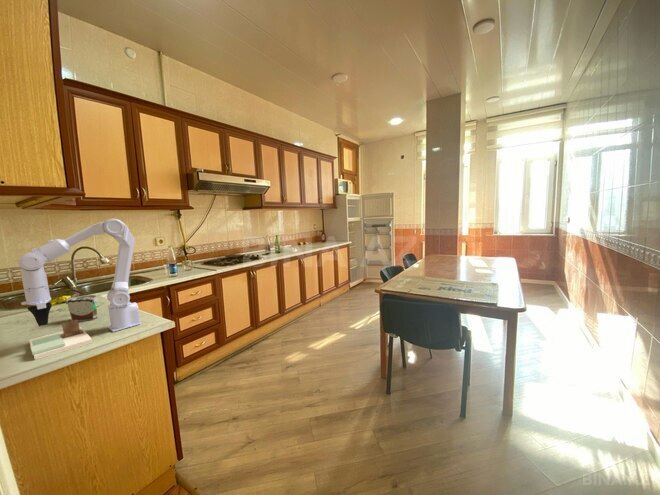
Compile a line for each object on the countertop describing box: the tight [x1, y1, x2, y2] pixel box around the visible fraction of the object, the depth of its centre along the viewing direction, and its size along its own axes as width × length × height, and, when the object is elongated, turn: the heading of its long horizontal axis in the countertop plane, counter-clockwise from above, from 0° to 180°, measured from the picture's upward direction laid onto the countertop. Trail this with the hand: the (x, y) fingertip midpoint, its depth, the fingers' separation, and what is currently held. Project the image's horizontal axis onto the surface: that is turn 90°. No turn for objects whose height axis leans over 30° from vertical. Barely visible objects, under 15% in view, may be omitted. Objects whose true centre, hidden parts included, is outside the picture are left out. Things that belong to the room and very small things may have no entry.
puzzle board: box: [28, 326, 93, 361], centre depth 97 cm, size 14×20×1 cm
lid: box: [29, 334, 65, 356], centre depth 90 cm, size 8×8×3 cm
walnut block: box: [61, 319, 81, 339], centre depth 101 cm, size 4×4×6 cm
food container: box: [65, 294, 99, 322], centre depth 122 cm, size 12×6×10 cm, turn 92°
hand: (43, 324), depth 94 cm, fingers closed
